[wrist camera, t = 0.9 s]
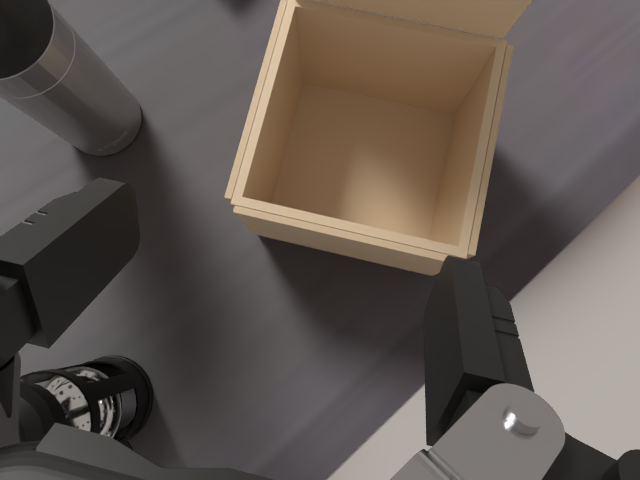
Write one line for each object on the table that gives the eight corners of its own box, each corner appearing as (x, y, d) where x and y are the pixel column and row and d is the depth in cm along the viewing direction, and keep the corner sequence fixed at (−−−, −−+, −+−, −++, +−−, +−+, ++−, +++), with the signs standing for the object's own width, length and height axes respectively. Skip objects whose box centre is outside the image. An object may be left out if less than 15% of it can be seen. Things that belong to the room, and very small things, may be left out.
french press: (49, 383, 48) (-200, 444, 25) (122, 333, 49) (-57, 348, 26) (103, 478, 46) (-113, 633, 24) (177, 423, 47) (37, 524, 24)
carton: (432, 281, 49) (473, 268, 35) (250, 238, 50) (220, 209, 37) (465, 114, 52) (514, 42, 39) (294, 77, 54) (282, -5, 40)
